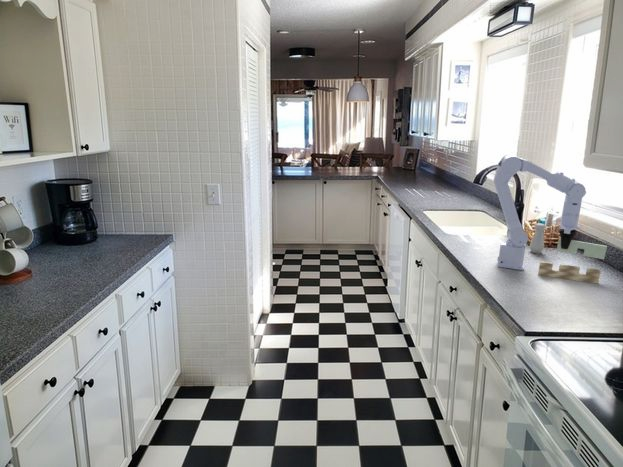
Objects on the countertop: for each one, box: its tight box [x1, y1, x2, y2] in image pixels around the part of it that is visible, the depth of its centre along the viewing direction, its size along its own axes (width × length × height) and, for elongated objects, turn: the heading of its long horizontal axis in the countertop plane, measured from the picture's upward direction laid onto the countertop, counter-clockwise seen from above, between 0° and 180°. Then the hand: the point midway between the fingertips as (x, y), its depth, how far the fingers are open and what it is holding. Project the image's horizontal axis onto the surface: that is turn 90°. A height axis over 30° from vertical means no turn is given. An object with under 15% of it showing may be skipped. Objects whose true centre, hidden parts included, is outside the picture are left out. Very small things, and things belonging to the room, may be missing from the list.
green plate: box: [556, 237, 608, 260], centre depth 180 cm, size 16×1×5 cm, turn 60°
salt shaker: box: [528, 222, 546, 255], centre depth 209 cm, size 6×6×13 cm
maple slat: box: [537, 261, 602, 284], centre depth 176 cm, size 20×1×5 cm, turn 68°
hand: (564, 248), depth 183 cm, fingers closed on green plate
